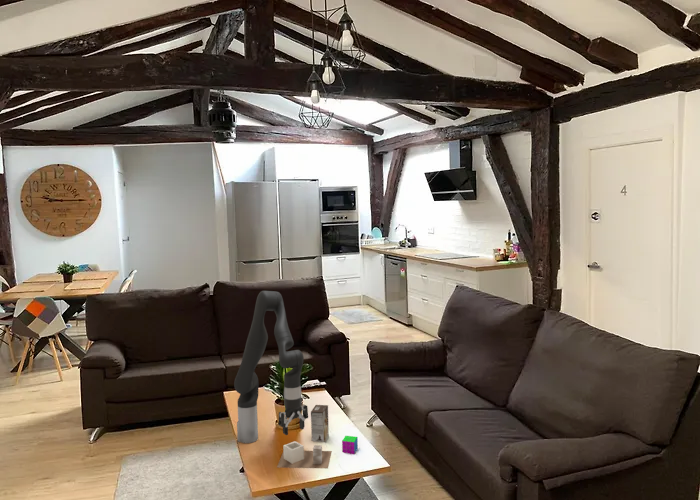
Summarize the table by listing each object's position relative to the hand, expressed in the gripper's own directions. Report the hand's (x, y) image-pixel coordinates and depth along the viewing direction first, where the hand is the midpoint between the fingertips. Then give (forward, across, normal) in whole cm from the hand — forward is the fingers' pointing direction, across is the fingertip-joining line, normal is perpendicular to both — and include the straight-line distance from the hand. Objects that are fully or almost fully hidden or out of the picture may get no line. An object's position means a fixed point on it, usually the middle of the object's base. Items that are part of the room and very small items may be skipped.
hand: (294, 431), depth 241 cm
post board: (+14, +3, -3) cm, 15 cm away
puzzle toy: (+14, +25, -8) cm, 30 cm away
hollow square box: (+12, 0, 0) cm, 12 cm away
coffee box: (+14, +22, +9) cm, 27 cm away
